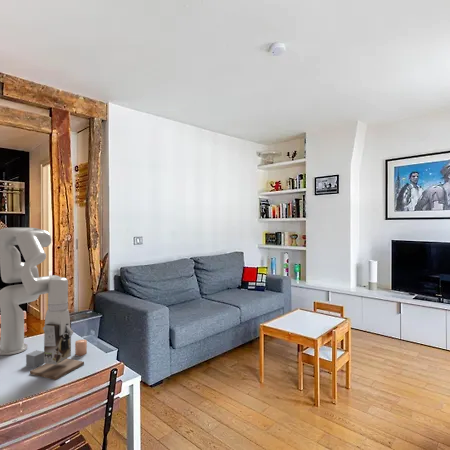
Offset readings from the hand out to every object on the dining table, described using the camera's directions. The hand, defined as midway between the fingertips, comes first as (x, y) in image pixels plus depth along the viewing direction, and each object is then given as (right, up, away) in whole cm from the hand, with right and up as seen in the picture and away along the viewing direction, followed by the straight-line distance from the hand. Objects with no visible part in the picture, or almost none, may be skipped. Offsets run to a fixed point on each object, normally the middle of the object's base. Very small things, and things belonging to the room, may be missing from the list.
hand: (57, 348), depth 137 cm
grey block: (-12, -9, +5) cm, 16 cm away
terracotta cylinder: (+3, -9, +16) cm, 19 cm away
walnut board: (0, -9, 0) cm, 9 cm away
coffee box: (0, -5, 0) cm, 5 cm away
